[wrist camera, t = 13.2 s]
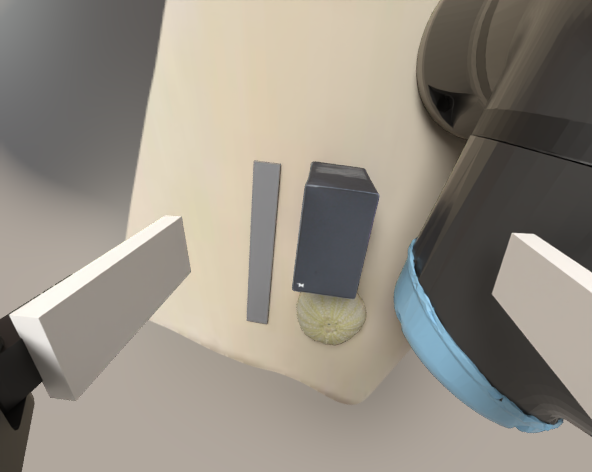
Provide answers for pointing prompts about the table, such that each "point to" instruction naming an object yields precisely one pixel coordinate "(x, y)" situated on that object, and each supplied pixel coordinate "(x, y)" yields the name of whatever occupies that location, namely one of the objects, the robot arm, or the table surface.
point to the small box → (334, 230)
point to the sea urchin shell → (330, 317)
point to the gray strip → (262, 238)
